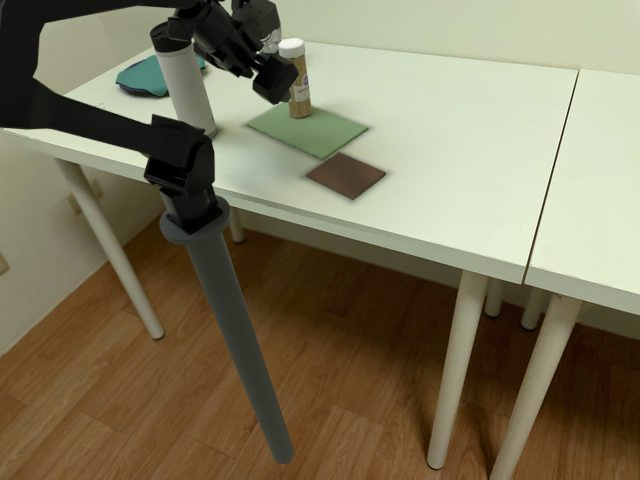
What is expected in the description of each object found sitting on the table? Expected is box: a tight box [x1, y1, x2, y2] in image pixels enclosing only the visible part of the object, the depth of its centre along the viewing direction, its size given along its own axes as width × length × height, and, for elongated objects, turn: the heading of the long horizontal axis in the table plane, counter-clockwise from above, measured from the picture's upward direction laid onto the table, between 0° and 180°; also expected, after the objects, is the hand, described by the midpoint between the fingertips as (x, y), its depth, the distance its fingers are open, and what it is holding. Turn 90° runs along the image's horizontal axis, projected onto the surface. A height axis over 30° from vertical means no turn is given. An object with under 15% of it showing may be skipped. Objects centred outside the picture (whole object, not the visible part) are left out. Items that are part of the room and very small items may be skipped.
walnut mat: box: [305, 151, 387, 200], centre depth 74 cm, size 8×10×1 cm
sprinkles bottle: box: [278, 37, 312, 118], centre depth 85 cm, size 5×5×13 cm
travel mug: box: [149, 20, 218, 139], centre depth 82 cm, size 6×7×20 cm
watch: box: [258, 25, 283, 66], centre depth 105 cm, size 6×8×11 cm
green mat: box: [246, 102, 369, 161], centre depth 86 cm, size 12×20×1 cm, turn 46°
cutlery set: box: [115, 39, 206, 97], centre depth 111 cm, size 20×30×2 cm, turn 147°
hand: (270, 87), depth 78 cm, fingers open, 9 cm apart
